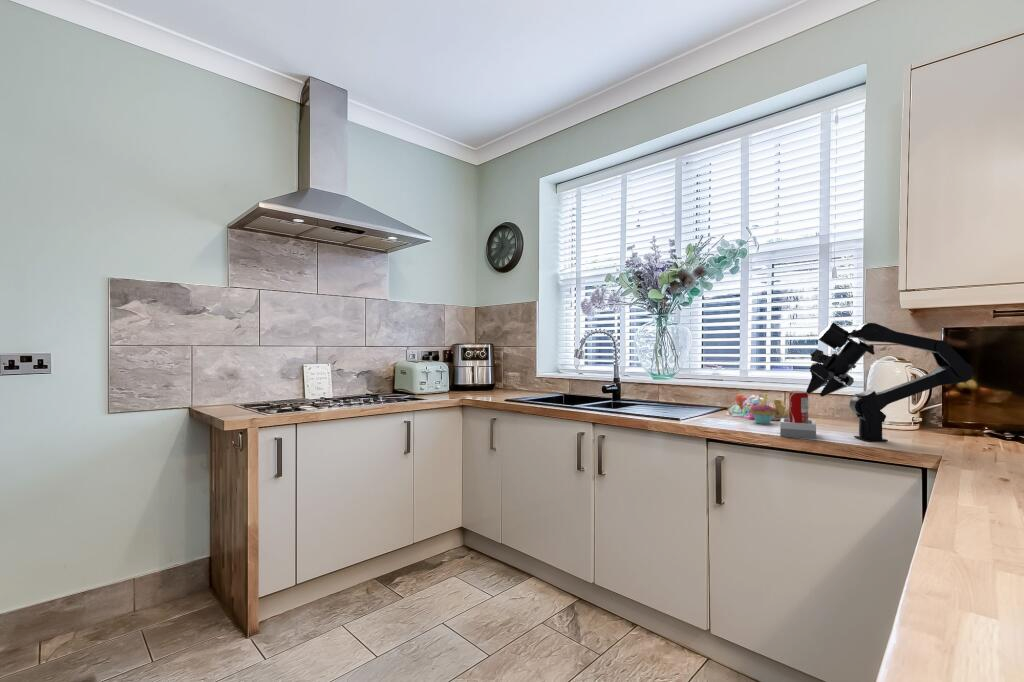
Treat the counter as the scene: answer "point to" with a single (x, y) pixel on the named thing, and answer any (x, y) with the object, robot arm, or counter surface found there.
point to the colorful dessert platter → (755, 400)
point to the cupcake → (762, 412)
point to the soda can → (798, 407)
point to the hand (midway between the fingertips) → (814, 394)
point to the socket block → (798, 429)
